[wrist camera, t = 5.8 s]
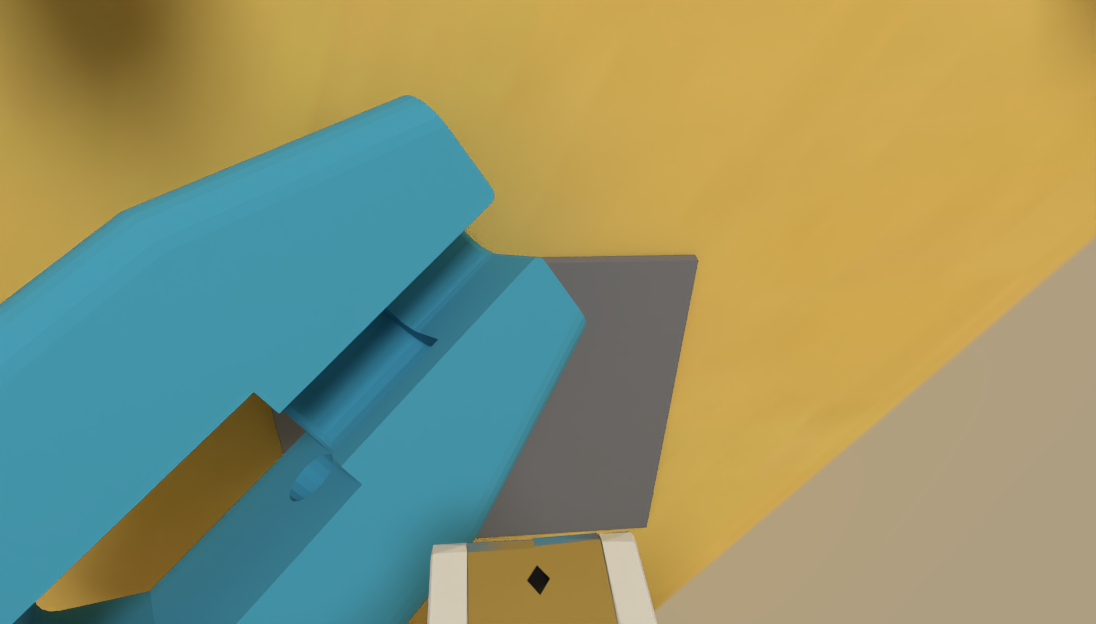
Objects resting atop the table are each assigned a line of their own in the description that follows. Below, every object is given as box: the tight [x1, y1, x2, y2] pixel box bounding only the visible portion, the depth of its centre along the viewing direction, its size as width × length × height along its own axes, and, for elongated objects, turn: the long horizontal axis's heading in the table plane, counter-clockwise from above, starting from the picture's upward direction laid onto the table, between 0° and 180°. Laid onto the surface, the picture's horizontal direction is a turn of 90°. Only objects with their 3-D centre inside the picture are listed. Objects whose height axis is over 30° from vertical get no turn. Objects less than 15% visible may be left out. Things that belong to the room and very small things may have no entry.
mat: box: [271, 255, 698, 538], centre depth 26 cm, size 15×16×1 cm
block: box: [0, 95, 586, 624], centre depth 16 cm, size 12×5×20 cm
